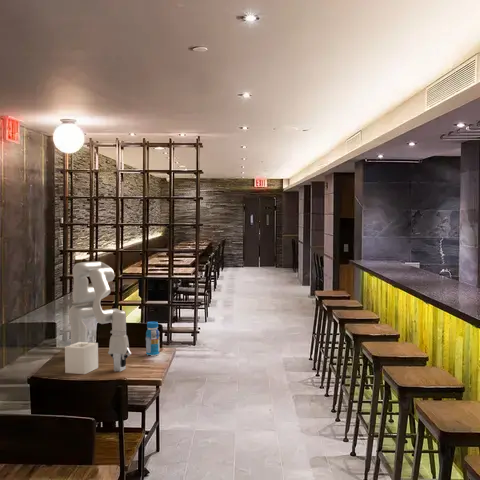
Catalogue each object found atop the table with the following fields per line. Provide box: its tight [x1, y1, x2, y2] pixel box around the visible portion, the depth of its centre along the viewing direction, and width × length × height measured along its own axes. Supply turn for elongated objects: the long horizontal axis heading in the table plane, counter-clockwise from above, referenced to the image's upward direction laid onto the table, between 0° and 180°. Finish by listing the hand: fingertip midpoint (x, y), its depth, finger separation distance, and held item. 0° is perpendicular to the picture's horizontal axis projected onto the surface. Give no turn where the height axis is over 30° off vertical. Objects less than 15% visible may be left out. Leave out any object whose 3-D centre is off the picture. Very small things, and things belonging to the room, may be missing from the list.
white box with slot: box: [64, 341, 99, 375], centre depth 322 cm, size 12×14×14 cm
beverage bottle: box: [145, 321, 161, 357], centre depth 358 cm, size 8×8×20 cm
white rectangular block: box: [113, 353, 127, 373], centre depth 322 cm, size 4×6×10 cm, turn 163°
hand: (119, 365), depth 322 cm, fingers closed on white rectangular block, 4 cm apart
